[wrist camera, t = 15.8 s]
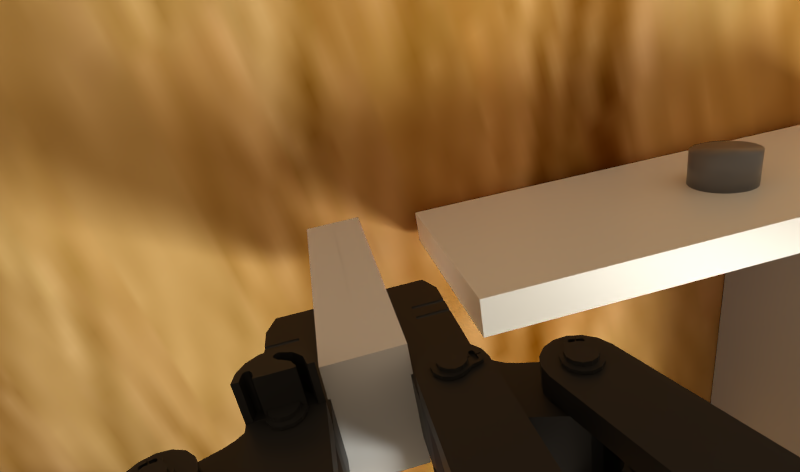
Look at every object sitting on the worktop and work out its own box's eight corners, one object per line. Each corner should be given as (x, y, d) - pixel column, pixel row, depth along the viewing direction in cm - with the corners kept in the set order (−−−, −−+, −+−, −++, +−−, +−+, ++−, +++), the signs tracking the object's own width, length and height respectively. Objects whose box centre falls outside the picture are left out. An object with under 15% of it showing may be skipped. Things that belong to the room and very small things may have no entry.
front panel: (419, 240, 16) (483, 337, 11) (410, 183, 16) (475, 258, 10) (848, 138, 19) (1081, 177, 13) (858, 84, 18) (1112, 102, 12)
